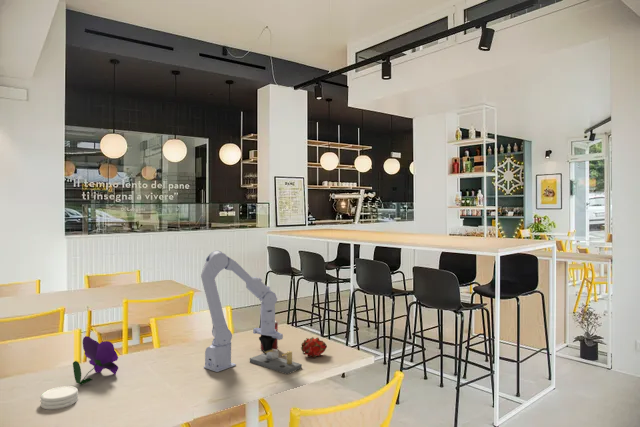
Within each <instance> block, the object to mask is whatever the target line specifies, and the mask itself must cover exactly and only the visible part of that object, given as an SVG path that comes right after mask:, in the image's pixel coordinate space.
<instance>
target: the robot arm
mask: <svg viewBox="0 0 640 427" xmlns="http://www.w3.org/2000/svg"><path fill="white" fill-rule="evenodd" d="M224 269H225V270H227V271H232V272H233V273H234V274H235V275H237V277H239V279H241V280H242V281H244V282H245V288H246V289H247V290H248V291H249V292H250V293H252V294H253V295H254V297H256V298H258V299H259V301H260V327H255V328H252V329H253V331H252V333H253V334H258V335H260V336H259V337H258V340H259V342H260V345H261V344H262V346H263V350H264V351H263V352H264V354H265V355H267V353H265V351H268V350H270V349H272V346H273V343H274V341H275V340H276V339H278V341H281V340H283V339H284V336H283V333H281V332H279V331H278V332H277V331H276V329H275V321H276V304H277V302H278V297H277V295H276V293H275V292H274V291H272V290H271V287H270V286H269V285H268V286H267V285H266V284H265V283H264V282H263V279H262V278H261V277H257V276H251V275H250V274H249V273H248V272H247V271H246V270H245V269H244V268H243V267H242V266H241V265H240V264H239V263H238V262H237V261H236V260H234V259H232V258H231V257H229V256H227V254H226V253H224V252H222V251H220V250H213V251H211V252H210V253H209V254H208V256H207V257H206V258H205V262H204V266H203V267H202V271H201V272H200V273H201V274H200V277H201V278H200V279H201V282H202V286H203V290H204V294H205V298H206V301H207V305H208V306H207V307H208V309H209V310H208V311H209V313H210V318H211V324H212V329H211V334H212V336H213V339H212V341H211V344H210V345H209V346H208V347H206V348H205V353H204V366H203V368H205V369H207V370H210V371H213V372H215V373H219V372H221V371H224V370H227V369H230V368H232V367H235V366H236V365H237V364H236V363H234V362H232V339H233V333H232V331H231V330H230V329H229V326H228V323H227V321H226V318H225V316H224V315H225V314H224V311H223V307H222V303H221V299H220V295H219V290H218V287H217V283H216V280H215V279H216V277H218V275H219V273H220V272H221V271H223V270H224Z"/></svg>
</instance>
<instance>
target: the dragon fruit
mask: <svg viewBox="0 0 640 427" xmlns="http://www.w3.org/2000/svg"><path fill="white" fill-rule="evenodd" d="M327 348H328V346H327V343H326V342H325V341H323V340H320V338H319V337H316V338H314V337H313V336H312V337H311V338H308V337H306V338H305V340H303V342H302V343H301V347H300V350H301V351H302V354H303V355H305V356H307V357H308V356H309V357H308V358H310V357H312V358H314V357H315V358H316V357H320V356H319V355H321V354H323V353H324V352H325V351H326V349H327Z"/></svg>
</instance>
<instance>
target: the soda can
mask: <svg viewBox="0 0 640 427" xmlns="http://www.w3.org/2000/svg"><path fill="white" fill-rule="evenodd" d="M275 329H276V331H277V332H279V327H278V321H277V320H275ZM278 342H279V340H278V339H276V340H275V341H274V343H273V346H272V349H276V350H278V348H279V347H278V346H279V345H278ZM260 350H261V351H262V352H264V350H263V346H262V344H261V343H260Z"/></svg>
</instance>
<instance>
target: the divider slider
mask: <svg viewBox="0 0 640 427" xmlns="http://www.w3.org/2000/svg"><path fill="white" fill-rule="evenodd" d="M265 353H267V359H270V360H274V359H276V358H278V357H279V349H277V350H276V349H270V350H268V351H265Z"/></svg>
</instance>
